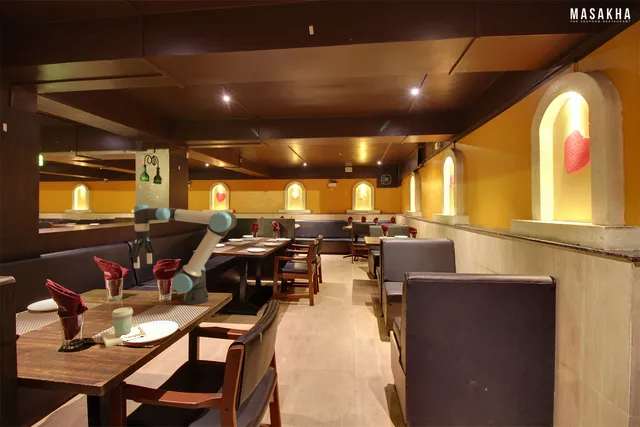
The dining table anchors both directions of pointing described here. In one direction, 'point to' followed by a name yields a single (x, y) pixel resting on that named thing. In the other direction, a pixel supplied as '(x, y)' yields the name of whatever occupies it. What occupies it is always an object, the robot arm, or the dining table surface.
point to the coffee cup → (122, 321)
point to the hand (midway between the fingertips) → (143, 265)
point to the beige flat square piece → (112, 340)
